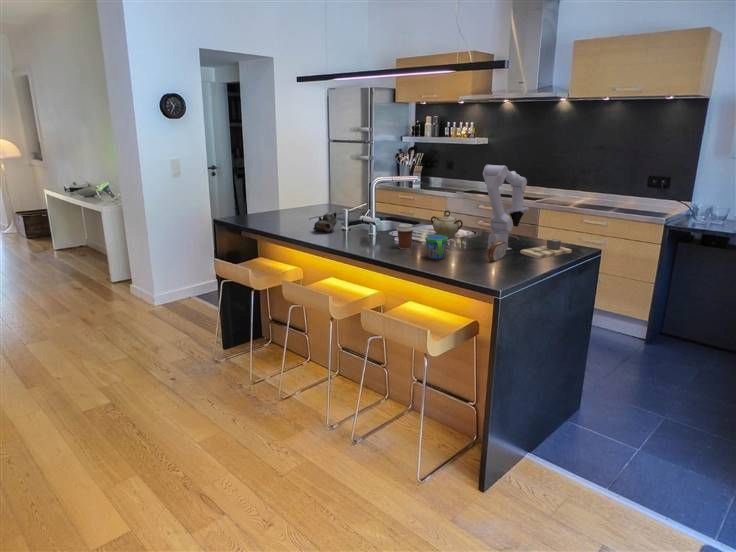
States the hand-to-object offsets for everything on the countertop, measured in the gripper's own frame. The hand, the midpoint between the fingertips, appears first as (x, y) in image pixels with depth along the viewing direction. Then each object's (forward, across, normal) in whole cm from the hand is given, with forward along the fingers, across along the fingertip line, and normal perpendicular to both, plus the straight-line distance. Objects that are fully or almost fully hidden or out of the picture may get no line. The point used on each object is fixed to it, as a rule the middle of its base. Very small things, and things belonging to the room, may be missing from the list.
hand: (515, 226), depth 265 cm
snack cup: (+10, -51, -2) cm, 52 cm away
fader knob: (+8, +5, -22) cm, 24 cm away
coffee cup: (+10, -54, +22) cm, 59 cm away
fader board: (+9, 0, -22) cm, 24 cm away
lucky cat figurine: (+10, -75, +80) cm, 110 cm away
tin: (+10, -28, -19) cm, 35 cm away
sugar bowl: (+10, -21, +32) cm, 40 cm away
